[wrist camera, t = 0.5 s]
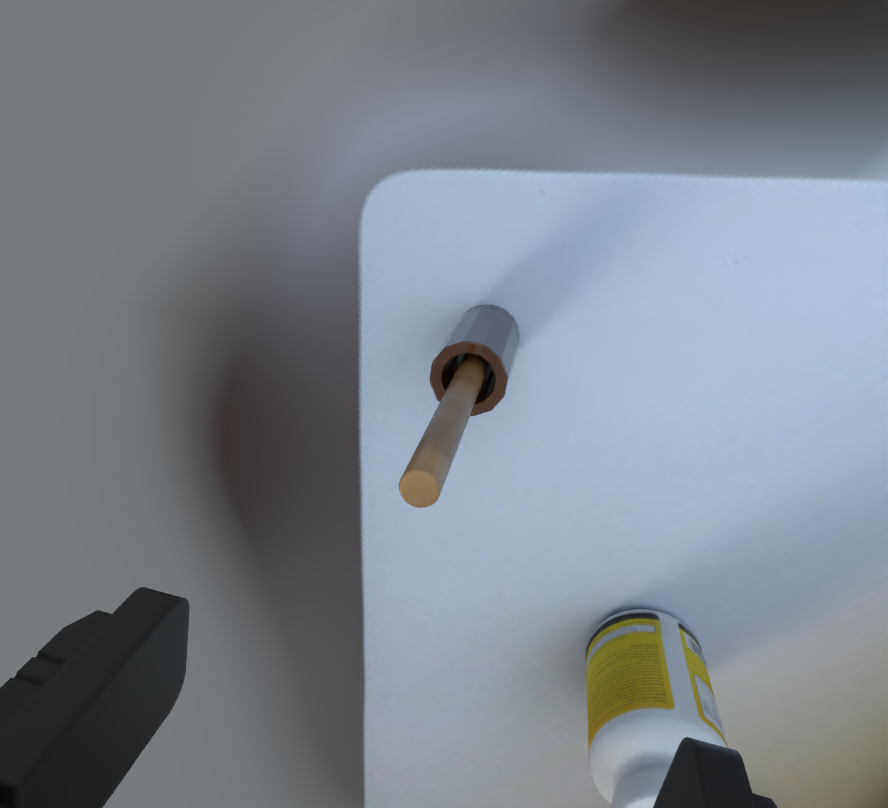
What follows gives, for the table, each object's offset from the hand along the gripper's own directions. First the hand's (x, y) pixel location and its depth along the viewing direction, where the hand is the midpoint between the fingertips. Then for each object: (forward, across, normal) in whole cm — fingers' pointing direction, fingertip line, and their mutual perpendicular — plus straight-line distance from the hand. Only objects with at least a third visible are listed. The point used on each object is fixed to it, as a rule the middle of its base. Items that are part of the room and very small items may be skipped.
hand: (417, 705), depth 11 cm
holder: (+26, +1, +1) cm, 26 cm away
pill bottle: (+26, -11, +17) cm, 33 cm away
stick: (+25, +2, +1) cm, 25 cm away
